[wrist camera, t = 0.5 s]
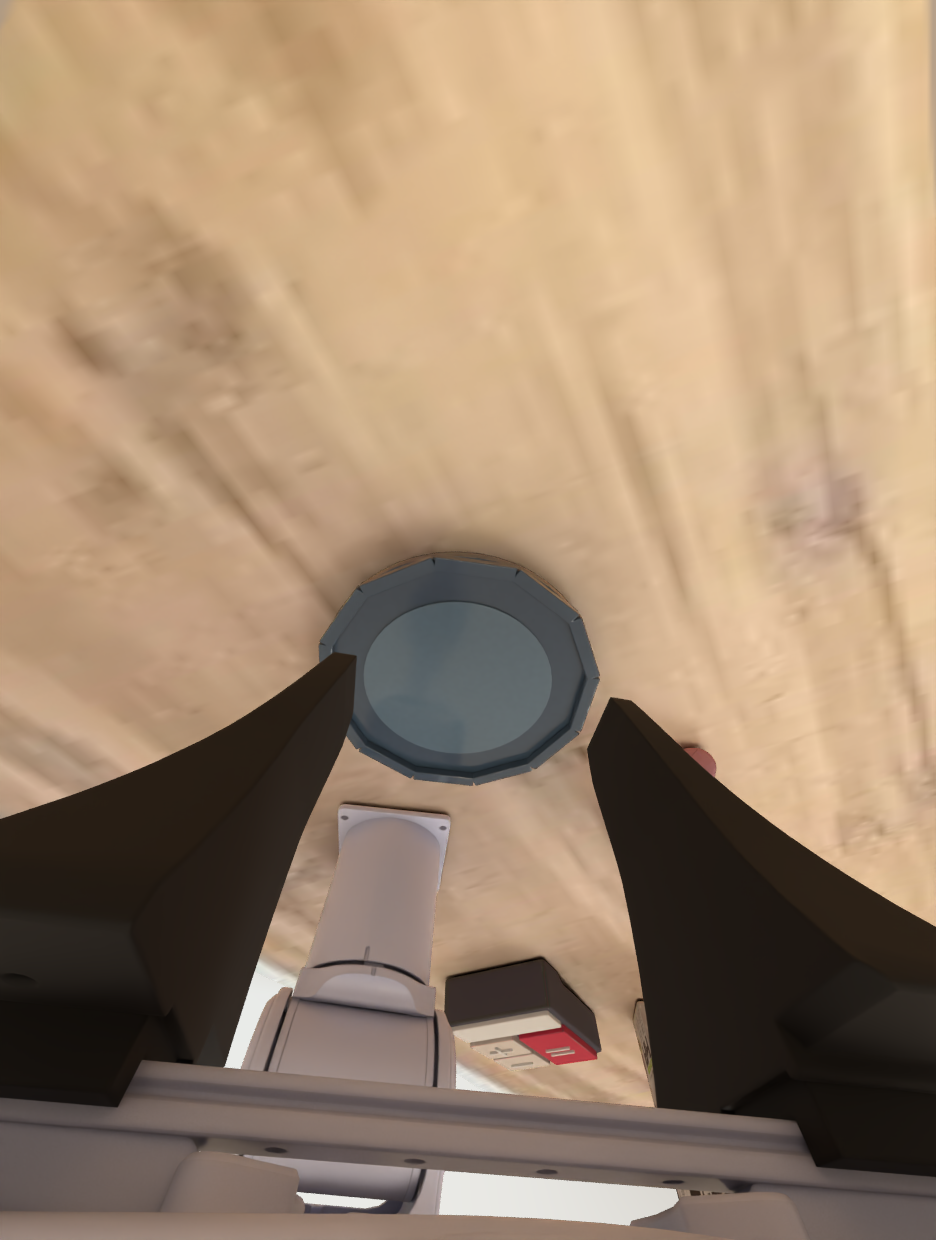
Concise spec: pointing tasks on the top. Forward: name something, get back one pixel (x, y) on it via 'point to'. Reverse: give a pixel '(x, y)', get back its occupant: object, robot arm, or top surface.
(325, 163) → the top surface
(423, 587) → the plate
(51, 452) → the top surface
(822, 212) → the top surface
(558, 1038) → the black red beige box
